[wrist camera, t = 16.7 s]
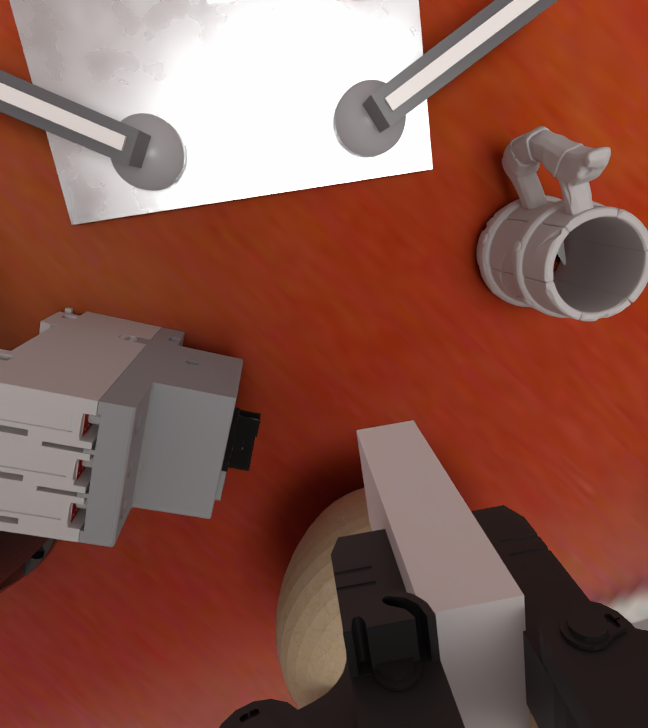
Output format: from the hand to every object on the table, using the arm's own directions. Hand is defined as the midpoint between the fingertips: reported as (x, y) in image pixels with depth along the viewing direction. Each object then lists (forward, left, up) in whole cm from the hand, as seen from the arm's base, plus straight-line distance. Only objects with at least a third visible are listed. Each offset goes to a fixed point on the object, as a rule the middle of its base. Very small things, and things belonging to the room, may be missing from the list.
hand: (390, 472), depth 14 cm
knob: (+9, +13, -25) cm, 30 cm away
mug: (+15, +3, -27) cm, 31 cm away
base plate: (-3, +15, -26) cm, 31 cm away
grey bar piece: (-13, +14, -25) cm, 31 cm away
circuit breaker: (-12, -4, -27) cm, 29 cm away
